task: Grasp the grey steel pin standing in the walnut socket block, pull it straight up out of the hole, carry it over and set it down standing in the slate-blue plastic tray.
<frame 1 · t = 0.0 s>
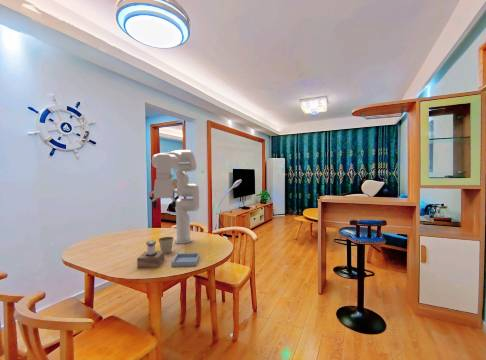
hand: (164, 208, 123), 31 cm above the table, fingers open, 9 cm apart
socket block: (151, 263, 127), on the table
flower pot: (166, 252, 145), on the table
tray: (186, 261, 129), on the table
pin: (151, 252, 127), in the socket block
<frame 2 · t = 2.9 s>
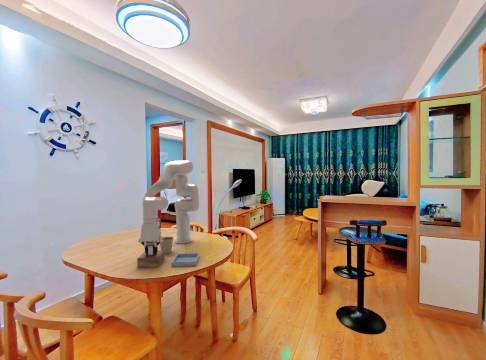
hand: (151, 253, 127), 6 cm above the table, fingers closed on pin, 3 cm apart
pin: (151, 252, 127), in the socket block, touching gripper
everything else where it was.
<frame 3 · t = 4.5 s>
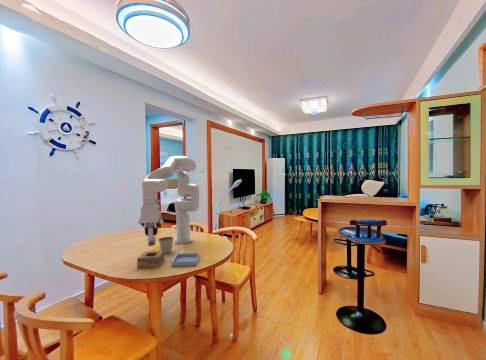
hand: (151, 234, 127), 16 cm above the table, fingers closed on pin, 3 cm apart
pin: (151, 234, 127), point 16 cm above the table, touching gripper
everything else where it was.
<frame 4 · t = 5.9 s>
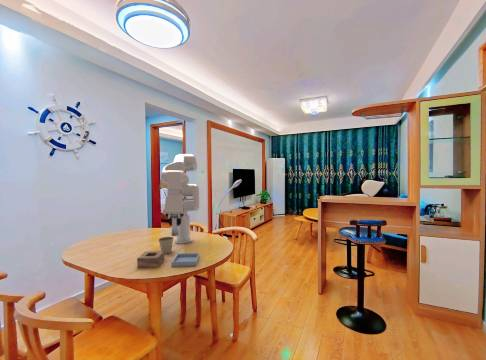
hand: (175, 224, 128), 21 cm above the table, fingers closed on pin, 3 cm apart
pin: (174, 224, 128), point 21 cm above the table, touching gripper
everything else where it was.
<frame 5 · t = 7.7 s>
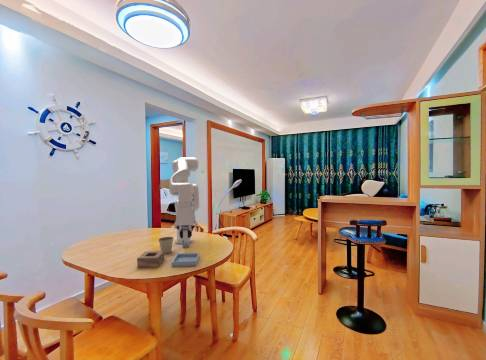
hand: (185, 237, 129), 14 cm above the table, fingers closed on pin, 3 cm apart
pin: (185, 236, 128), point 14 cm above the table, touching gripper
everything else where it was.
when the fingers open (8 cm above the table, at t = 9.1 s): pin drops 1 cm, resting on tray.
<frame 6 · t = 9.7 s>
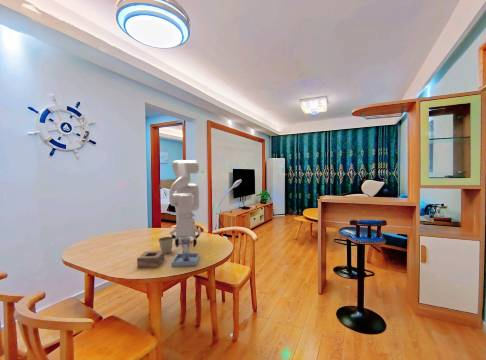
hand: (186, 246, 129), 9 cm above the table, fingers open, 9 cm apart
pin: (186, 250, 129), in the tray, point 7 cm above the table
everything else where it was.
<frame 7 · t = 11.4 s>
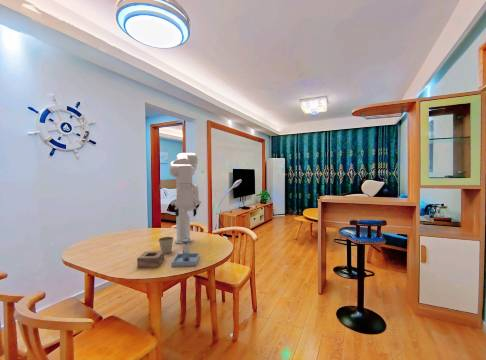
hand: (186, 216, 131), 26 cm above the table, fingers open, 9 cm apart
nothing on the table moved.
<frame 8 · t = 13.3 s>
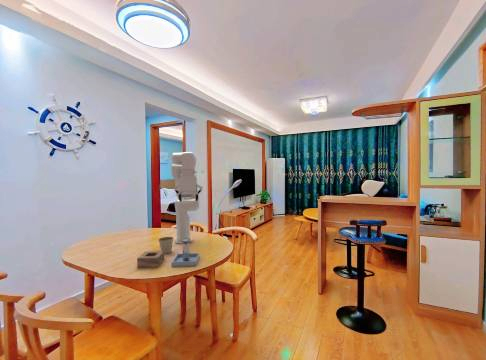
hand: (188, 201, 138), 33 cm above the table, fingers open, 9 cm apart
nothing on the table moved.
at the end: pin inside the target area on the tray (0.0 cm from its centre), point 6.6 cm above the tray's base; the gripper is holding nothing; pin touching tray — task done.
